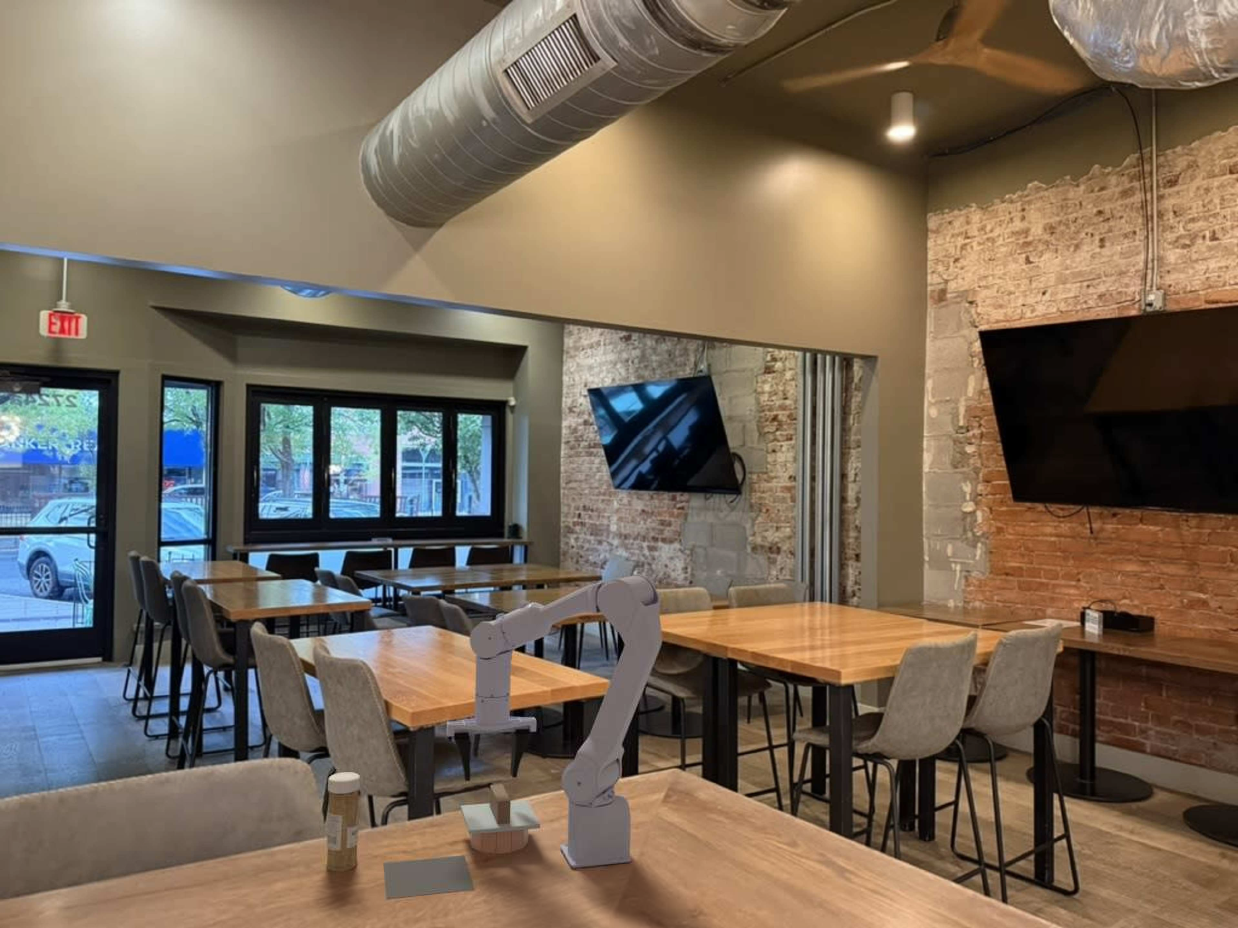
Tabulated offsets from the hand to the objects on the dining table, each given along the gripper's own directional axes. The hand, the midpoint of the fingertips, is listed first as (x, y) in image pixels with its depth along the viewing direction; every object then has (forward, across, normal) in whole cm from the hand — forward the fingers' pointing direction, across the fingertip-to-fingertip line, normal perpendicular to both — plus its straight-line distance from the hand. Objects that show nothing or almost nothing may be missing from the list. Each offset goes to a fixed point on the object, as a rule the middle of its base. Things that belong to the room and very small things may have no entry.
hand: (490, 777), depth 145 cm
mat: (+9, +11, +14) cm, 20 cm away
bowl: (+9, -1, +4) cm, 10 cm away
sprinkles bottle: (+10, +23, +7) cm, 26 cm away
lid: (+5, -1, +4) cm, 7 cm away
